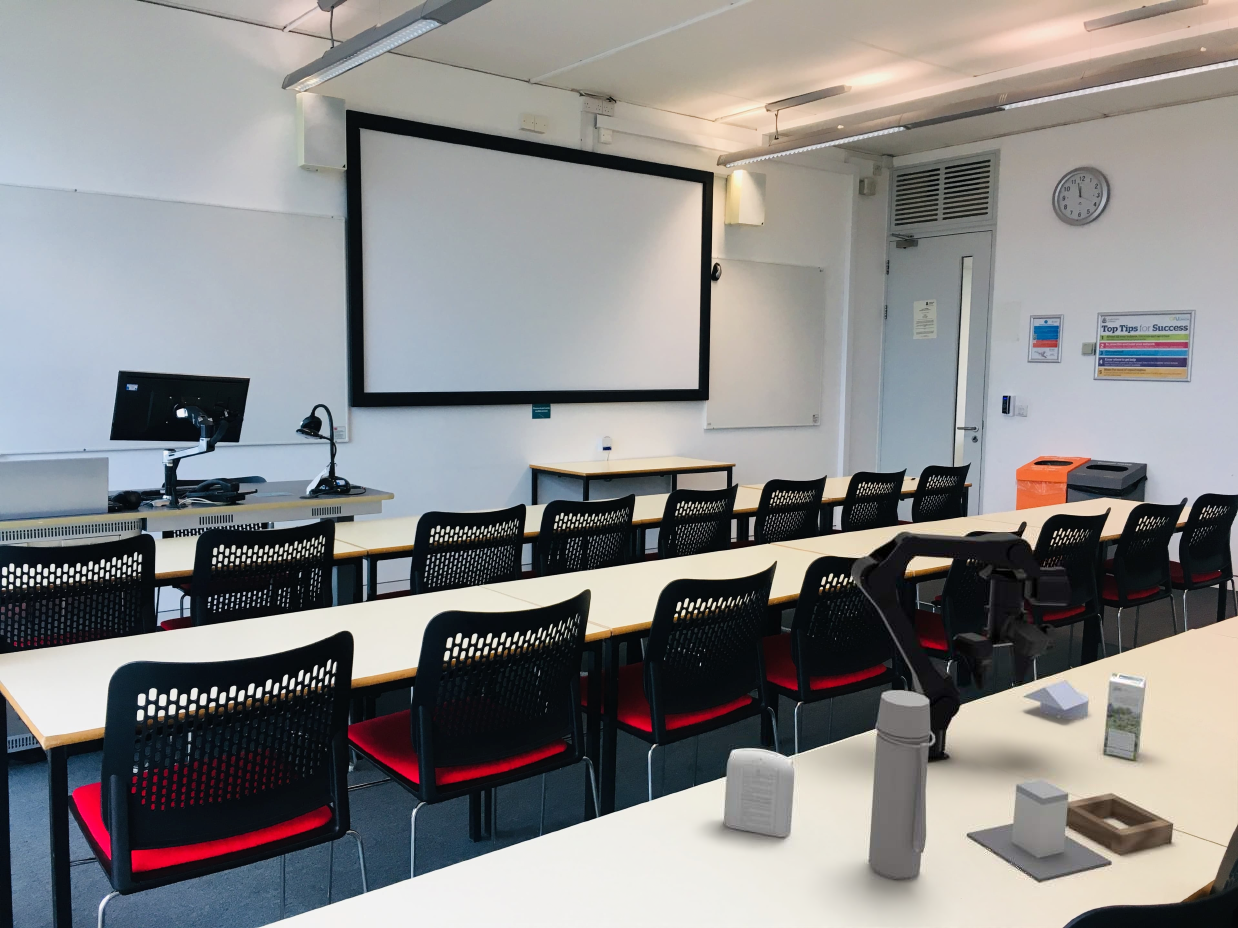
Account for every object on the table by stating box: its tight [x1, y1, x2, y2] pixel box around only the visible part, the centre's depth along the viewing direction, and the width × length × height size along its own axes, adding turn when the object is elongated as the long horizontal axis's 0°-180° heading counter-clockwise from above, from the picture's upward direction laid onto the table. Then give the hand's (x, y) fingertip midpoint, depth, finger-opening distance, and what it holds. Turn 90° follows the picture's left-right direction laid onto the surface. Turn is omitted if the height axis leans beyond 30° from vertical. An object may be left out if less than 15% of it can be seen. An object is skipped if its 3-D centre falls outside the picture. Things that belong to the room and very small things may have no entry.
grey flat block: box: [723, 747, 795, 838], centre depth 149 cm, size 10×4×12 cm, turn 72°
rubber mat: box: [966, 823, 1112, 882], centre depth 146 cm, size 14×14×1 cm
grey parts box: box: [1012, 779, 1070, 858], centre depth 145 cm, size 5×5×9 cm
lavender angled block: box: [1022, 679, 1090, 719], centre depth 204 cm, size 9×7×13 cm
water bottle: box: [868, 689, 935, 880], centre depth 137 cm, size 9×8×25 cm
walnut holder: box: [1066, 792, 1174, 855], centre depth 152 cm, size 11×11×3 cm
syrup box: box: [1102, 672, 1147, 762], centre depth 183 cm, size 6×6×14 cm
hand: (1000, 687), depth 179 cm, fingers open, 9 cm apart
